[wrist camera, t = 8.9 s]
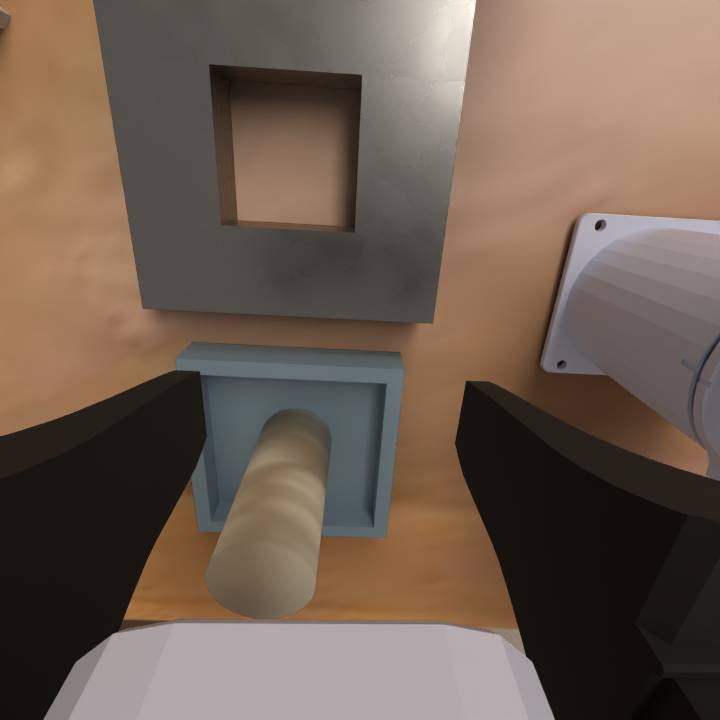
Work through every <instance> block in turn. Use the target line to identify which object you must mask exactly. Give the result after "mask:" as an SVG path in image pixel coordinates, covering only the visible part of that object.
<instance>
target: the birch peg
mask: <svg viewBox="0 0 720 720" xmlns="http://www.w3.org/2000/svg"><path fill="white" fill-rule="evenodd" d="M331 443H332V437H331V432H330V430H329V428H328V426H327V424H326V423H325V422H324V421H323V420H322V419H321V418H320V417H319V416H317V415H315V414H314V413H312V412H309V411H306V410H302V409H286V410H282V411H280V412H277V413H275V414H274V415H272V416H271V417H270V418H269V419H268V420H267V421H266V422H265V424H264V426H263V428H262V431H261V433H260V436H259V438H258V441H257V444H256V446H255V449H254V451H253V454H252V456H251V459H250V461H249V464H248V466H247V469H246V471H245V474H244V476H243V479H242V482H241V484H240V487H239V489H238V492H237V494H236V497H235V499H234V502H233V504H232V507H231V509H230V512H229V514H228V517H227V520H226V522H225V525H224V527H223V530H222V532H221V535H220V537H219V540H218V542H217V545H216V547H215V550H214V552H213V555H212V557H211V560H210V563H209V565H208V568H207V571H206V584H207V587H208V589H209V591H210V593H211V595H212V596H213V597H214V598H215V599H216V600H217V601H218V602H219V603H220V604H221V605H223V606H224V607H225V608H227V609H229V610H231V611H233V612H235V613H237V614H240V615H243V616H247V617H252V618H260V619H273V618H280V617H285V616H288V615H291V614H293V613H295V612H297V611H299V610H301V609H302V608H303V607H305V606H306V605H307V604H308V603H309V601H310V600H311V598H312V597H313V595H314V591H315V584H316V575H317V566H318V558H319V549H320V540H321V531H322V522H323V514H324V505H325V496H326V487H327V478H328V470H329V461H330V452H331Z"/></svg>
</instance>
